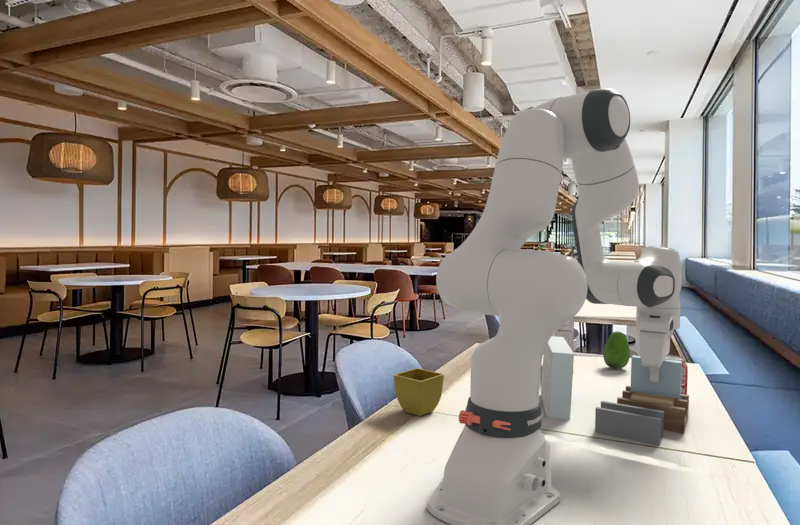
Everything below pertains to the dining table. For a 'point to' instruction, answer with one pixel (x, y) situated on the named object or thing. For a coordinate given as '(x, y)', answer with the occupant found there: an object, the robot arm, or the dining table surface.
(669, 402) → the offcut upper
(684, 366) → the soda can
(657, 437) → the holder
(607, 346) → the avocado
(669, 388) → the sheet
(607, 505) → the dining table surface
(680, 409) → the rack
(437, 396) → the flower pot
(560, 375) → the skincare box
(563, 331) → the cracker box
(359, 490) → the dining table surface
